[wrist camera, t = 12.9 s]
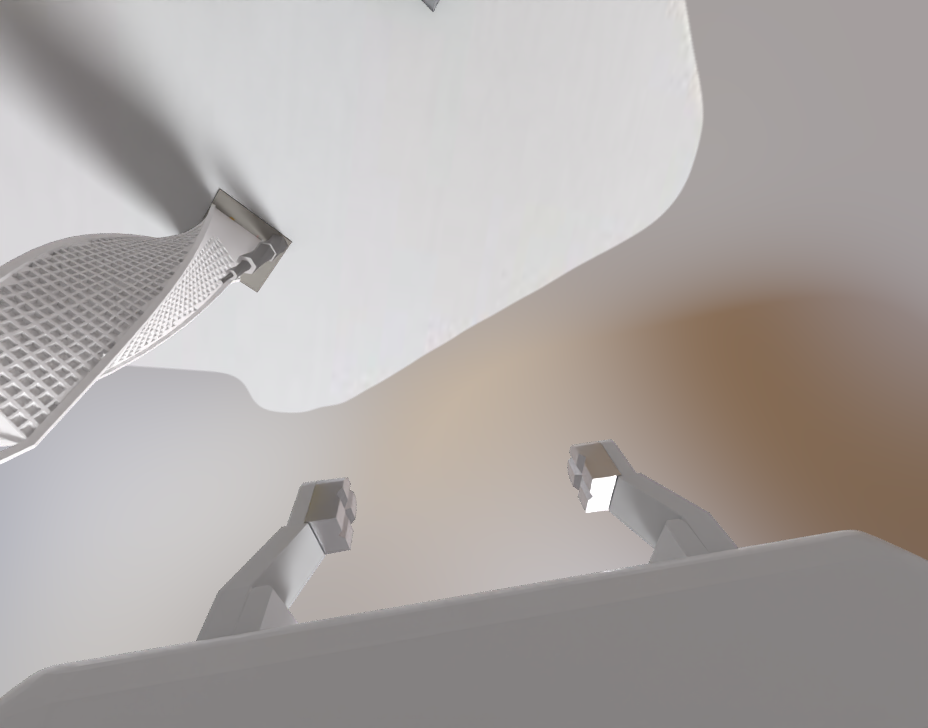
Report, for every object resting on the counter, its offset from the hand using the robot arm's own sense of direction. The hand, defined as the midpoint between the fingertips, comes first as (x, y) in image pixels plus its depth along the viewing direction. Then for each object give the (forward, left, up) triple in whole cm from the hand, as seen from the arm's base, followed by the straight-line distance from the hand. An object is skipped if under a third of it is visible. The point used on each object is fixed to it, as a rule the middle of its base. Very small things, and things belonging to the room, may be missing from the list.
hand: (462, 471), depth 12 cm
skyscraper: (-17, -10, -30) cm, 36 cm away
